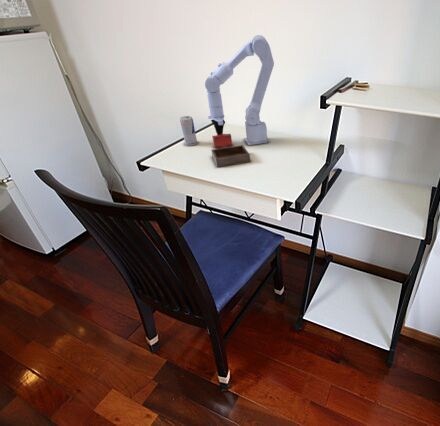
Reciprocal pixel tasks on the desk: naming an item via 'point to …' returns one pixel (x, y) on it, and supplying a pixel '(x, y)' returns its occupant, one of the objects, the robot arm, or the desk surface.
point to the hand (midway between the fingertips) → (220, 135)
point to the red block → (222, 140)
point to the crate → (230, 155)
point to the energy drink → (188, 130)
